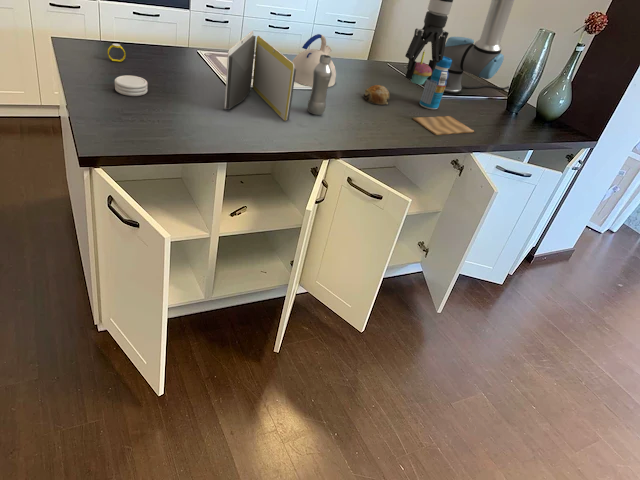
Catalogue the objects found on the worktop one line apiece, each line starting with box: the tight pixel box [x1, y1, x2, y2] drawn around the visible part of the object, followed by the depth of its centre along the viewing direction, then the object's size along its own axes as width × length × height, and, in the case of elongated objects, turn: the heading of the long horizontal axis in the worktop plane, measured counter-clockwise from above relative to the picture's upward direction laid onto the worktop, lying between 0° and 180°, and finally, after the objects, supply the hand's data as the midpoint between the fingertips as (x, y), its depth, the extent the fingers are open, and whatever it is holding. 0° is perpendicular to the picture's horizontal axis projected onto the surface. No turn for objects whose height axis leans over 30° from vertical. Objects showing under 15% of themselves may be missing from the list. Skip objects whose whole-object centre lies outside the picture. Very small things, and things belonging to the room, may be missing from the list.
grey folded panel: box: [224, 30, 296, 122], centre depth 161 cm, size 35×22×20 cm, turn 30°
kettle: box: [291, 33, 337, 88], centre depth 196 cm, size 20×21×18 cm
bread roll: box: [363, 84, 390, 106], centre depth 192 cm, size 10×10×8 cm
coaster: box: [114, 74, 149, 97], centre depth 155 cm, size 10×10×4 cm
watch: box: [107, 43, 127, 63], centre depth 174 cm, size 6×3×6 cm, turn 114°
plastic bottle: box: [307, 55, 332, 116], centre depth 165 cm, size 6×7×20 cm
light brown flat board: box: [412, 115, 475, 136], centre depth 184 cm, size 20×14×1 cm
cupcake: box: [410, 49, 432, 85], centre depth 173 cm, size 9×8×12 cm
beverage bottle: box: [419, 56, 452, 111], centre depth 194 cm, size 8×8×20 cm
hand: (418, 78), depth 176 cm, fingers closed on cupcake, 8 cm apart
